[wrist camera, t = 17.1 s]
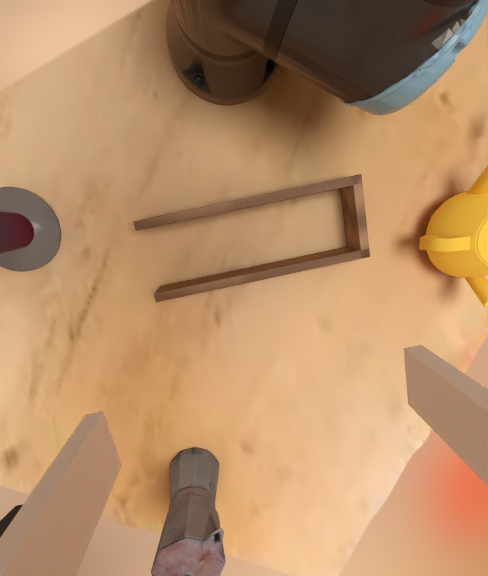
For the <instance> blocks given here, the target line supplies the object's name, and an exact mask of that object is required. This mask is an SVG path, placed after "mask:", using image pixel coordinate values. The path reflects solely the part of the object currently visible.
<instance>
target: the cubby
mask: <svg viewBox="0 0 488 576" xmlns="http://www.w3.org/2000/svg"><path fill="white" fill-rule="evenodd" d="M338 188H340V189H341V197H342V206H343V214H344V222H345V230H346V238H347V246H348V247H344V248H339V249H334V250H329V251H325V252H320V253H315V254H311V255H306V256H301V257H296V258H292V259H287V260H282V261H277V262H273V263H268V264H263V265H259V266H254V267H249V268H244V269H240V270H235V271H230V272H225V273H221V274H216V275H211V276H207V277H202V278H197V279H192V280H188V281H183V282H178V283H174V284H169V285H164V286H160V288H159V289H158V290H157V291H156V292H155V293H154V297H155V300H156V302H159V301H164V300H168V299H173V298H178V297H183V296H187V295H192V294H197V293H201V292H206V291H211V290H216V289H220V288H225V287H230V286H234V285H239V284H244V283H249V282H253V281H258V280H263V279H267V278H272V277H277V276H282V275H286V274H291V273H296V272H300V271H305V270H310V269H315V268H319V267H324V266H329V265H333V264H338V263H343V262H347V261H352V260H357V259H362V258H366V257H370V252H369V242H368V233H367V224H366V214H365V205H364V196H363V186H362V177H361V174H359V175H354V176H350V177H345V178H340V179H335V180H330V181H326V182H321V183H316V184H311V185H307V186H302V187H297V188H292V189H287V190H283V191H278V192H273V193H268V194H264V195H259V196H254V197H249V198H244V199H240V200H235V201H230V202H225V203H220V204H216V205H211V206H206V207H201V208H197V209H192V210H187V211H182V212H177V213H173V214H168V215H163V216H158V217H153V218H149V219H144V220H139V221H134V222H133V223H134V226H135V230H136V231H137V230H142V229H147V228H152V227H157V226H161V225H166V224H171V223H176V222H180V221H185V220H190V219H195V218H200V217H204V216H209V215H214V214H219V213H223V212H228V211H233V210H238V209H243V208H247V207H252V206H257V205H262V204H266V203H271V202H276V201H281V200H286V199H290V198H295V197H300V196H305V195H309V194H314V193H319V192H324V191H329V190H333V189H338Z"/></svg>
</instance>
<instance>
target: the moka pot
mask: <svg viewBox="0 0 488 576" xmlns="http://www.w3.org/2000/svg"><path fill="white" fill-rule="evenodd" d="M218 469H219V463H218V461H217V459H216V458H215V456H214V455H213V454H212V453H211V452H209V451H207V450H204V449H200V448H191V449H187V450H184V451H182V452H181V453H179V454H178V455H177V456H176V457H175V458H174V460H173V461H172V462H171V464H170V506H169V511H168V514H167V517H166V520H165V523H164V527H163V531H162V534H161V538H160V542H159V545H158V549H157V552H156V556H155V560H154V563H153V567H152V571H151V574H152V576H220V574H221V572H222V569H223V567H224V565H225V555H224V549H223V542H222V540H223V536H224V532H223V530H222V529H221V528H220V523H219V516H218V513H217V511H216V509H215V497H216V489H217V480H218Z"/></svg>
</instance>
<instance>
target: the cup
mask: <svg viewBox="0 0 488 576" xmlns="http://www.w3.org/2000/svg"><path fill="white" fill-rule="evenodd" d="M33 238H34V228H33V226H32V224H31V222H30V221H29V220H28V219H27V218H26V217H25V216H23V215H21V214H18V213H10V212H0V254H1V253H5V252H8V251H12V250H16V249H19V248H23V247H26V246H28V245H29V244H30V243H31V242H32V240H33Z"/></svg>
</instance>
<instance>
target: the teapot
mask: <svg viewBox="0 0 488 576" xmlns="http://www.w3.org/2000/svg"><path fill="white" fill-rule="evenodd" d="M419 250H427V254H428V256H429V258H430V260H431V262H432V263H433V264H434V265H435V266H436V267H437V268H438V269H439V270H440V271H441V272H443V273H445V274H448V275H450V276H455V277H463V278H465V279H466V281H467V282H468V283H469V285H470V286H471V288H472V289H473V291H474V292H475V294H476V295H477V297H478V298H479V300H480V301H481V303H482V304H483V306H484V307H488V282H487V280H486V279H485V277H484V276H485V275H488V166H487V168H486V169H485V170H484V171H483V173H482V174H481V175H480V177H479V178H478V179H477V180H476V182H475V183H474V184H473V186H472V187H471V188H470V189H469V191H467V192H462V193H459V194H457V195H455V196H453V197H451V198H450V199H448V200H447V201H445V202H444V203H443V204H442V205H441V206H440V207H439V208H438V209H437V210H436V211H435V212H434V213H433V214H432V215H431V217H430V222H429V224H428V227H427V231H426V235H425V236H422V237H420V245H419Z"/></svg>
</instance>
